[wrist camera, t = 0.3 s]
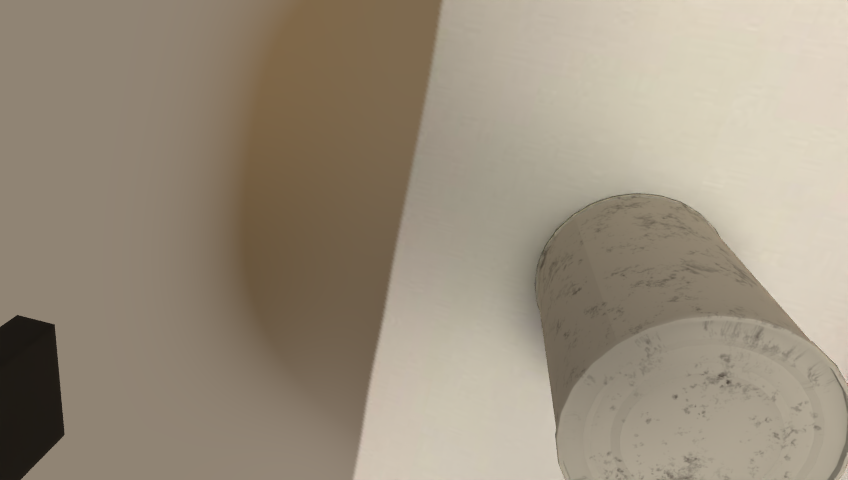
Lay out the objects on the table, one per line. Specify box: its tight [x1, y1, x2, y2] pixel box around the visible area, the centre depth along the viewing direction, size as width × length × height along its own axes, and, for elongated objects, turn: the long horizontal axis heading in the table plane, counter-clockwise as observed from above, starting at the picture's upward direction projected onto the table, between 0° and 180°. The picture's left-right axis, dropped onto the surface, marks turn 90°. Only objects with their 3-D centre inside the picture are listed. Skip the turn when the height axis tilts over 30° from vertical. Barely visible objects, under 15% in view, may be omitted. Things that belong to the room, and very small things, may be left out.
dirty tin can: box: [535, 194, 848, 480], centre depth 27 cm, size 10×10×12 cm
